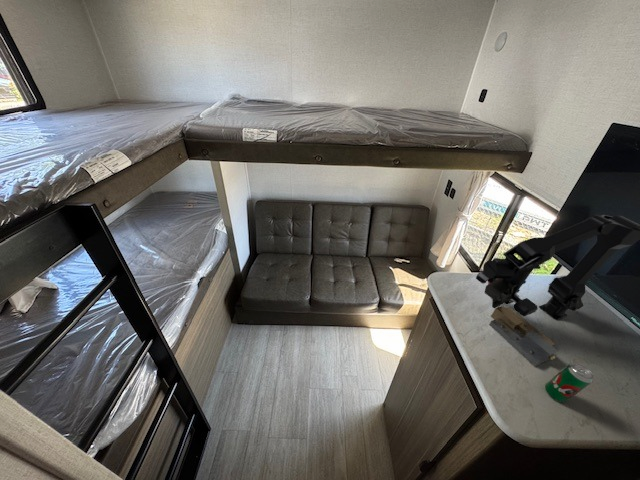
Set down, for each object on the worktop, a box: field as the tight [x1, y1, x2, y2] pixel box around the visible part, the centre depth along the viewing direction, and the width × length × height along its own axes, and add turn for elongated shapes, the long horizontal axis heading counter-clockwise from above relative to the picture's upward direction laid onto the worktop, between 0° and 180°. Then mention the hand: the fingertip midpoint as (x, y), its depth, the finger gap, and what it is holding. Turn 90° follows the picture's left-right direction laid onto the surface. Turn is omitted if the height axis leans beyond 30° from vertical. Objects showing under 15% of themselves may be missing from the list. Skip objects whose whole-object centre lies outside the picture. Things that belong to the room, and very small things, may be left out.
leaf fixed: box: [488, 318, 559, 367], centre depth 82 cm, size 7×17×4 cm, turn 22°
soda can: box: [544, 362, 595, 403], centre depth 67 cm, size 5×5×12 cm
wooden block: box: [490, 304, 555, 347], centre depth 85 cm, size 8×16×4 cm, turn 22°
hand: (493, 307), depth 92 cm, fingers closed
